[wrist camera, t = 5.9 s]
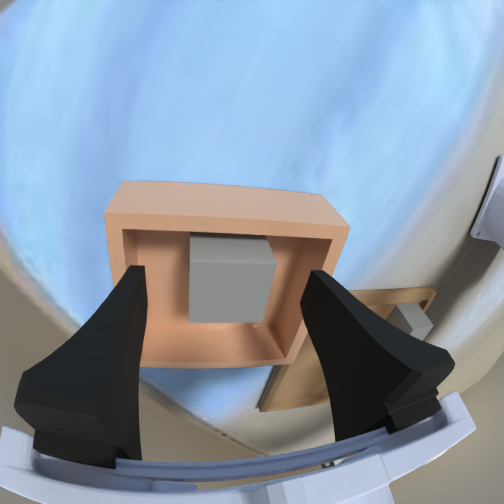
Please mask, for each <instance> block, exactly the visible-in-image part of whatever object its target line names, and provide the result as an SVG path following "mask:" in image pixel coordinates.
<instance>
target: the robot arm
mask: <svg viewBox="0 0 504 504" xmlns="http://www.w3.org/2000/svg"><path fill="white" fill-rule="evenodd" d="M470 235H471V236H472V237H473V238H477V239H483V240H489V241H495V242H496V243H497V244H498V245H499V246H500V247H501V248H502V249H504V155H500V157H499V160H498V163H497V166H496V169H495V172H494V175H493V178H492V181H491V184H490V186H489V189H488V192H487V194H486V197H485V199H484V202H483V204H482V207H481V209H480V212H479V214H478V216H477V219H476V221H475V223H474V225H473V228H472V230H471V232H470ZM300 308H301V312H302V316H303V320H304V323H305V326H306V328H307V331H308V333H309V336H310V338H311V341H312V343H313V346H314V348H315V351H316V353H317V356H318V358H319V361H320V364H321V367H322V370H323V374H324V377H325V381H326V385H327V390H328V394H329V399H330V404H331V410H332V416H333V423H334V432H335V443H331V444H327V445H323V446H319V447H315V448H310V449H305V450H301V451H296V452H290V453H285V454H279V455H273V456H266V457H259V458H250V459H241V460H230V461H216V462H154V461H153V462H152V461H142V454H141V444H140V430H139V403H138V388H139V368H140V361H141V354H142V348H143V342H144V336H145V330H146V324H147V310H148V297H147V286H146V274H145V266H143V265H130V266H129V267H128V268H127V270H126V271H125V273H124V274H123V276H122V277H121V279H120V280H119V282H118V283H117V285H116V286H115V287H114V289H113V290H112V291H111V293H110V294H109V296H108V297H107V298H106V299H105V301H104V302H103V303H102V304H101V306H100V307H99V308H98V309H97V311H96V312H95V313H94V314H93V315H92V316H91V318H90V319H89V320H88V321H87V322H86V323H85V324H84V325H83V326H82V327H81V328H80V329H79V330H78V331H77V332H76V333H75V334H74V335H73V336H72V337H71V338H70V339H69V340H68V341H66V342H65V343H64V344H63V345H62V346H61V347H59V348H58V349H57V350H55V351H54V352H53V353H52V354H50V355H49V356H48V357H46V358H45V359H44V360H42V361H41V362H39V363H37V364H36V365H34V366H33V367H31V368H30V369H28V370H26V371H25V372H23V374H22V377H21V380H20V382H19V386H18V390H17V394H16V398H15V403H14V408H15V410H16V412H17V413H18V414H19V415H20V416H21V417H22V418H23V419H24V420H25V421H26V422H27V423H28V424H29V425H31V426H32V427H33V428H34V429H35V435H34V437H33V436H31V435H29V434H27V433H25V432H22V431H18V430H16V429H13V428H10V427H7V426H3V427H2V432H1V438H0V486H1V487H3V488H5V489H8V490H10V491H12V492H15V493H17V494H19V495H22V496H24V497H27V498H29V499H32V500H34V501H37V502H40V503H43V504H395V503H394V500H393V497H392V494H391V492H390V489H389V486H388V484H390V482H391V481H394V480H395V479H397V478H399V477H401V476H403V475H405V474H407V473H409V472H411V471H413V470H414V469H416V468H418V467H420V466H422V465H423V464H425V463H427V462H428V461H430V460H432V459H433V458H435V457H436V456H438V455H440V454H441V453H443V452H444V451H446V450H447V449H448V448H450V447H452V446H453V445H455V444H456V443H457V442H459V441H460V440H462V439H463V438H464V437H466V436H467V435H469V434H470V433H471V432H473V431H474V430H475V429H476V426H475V424H474V422H473V421H472V418H471V416H470V415H469V413H468V411H467V409H466V407H465V405H464V403H463V402H462V400H461V398H460V396H459V394H458V393H457V391H454V392H452V393H450V394H448V395H446V396H444V397H443V398H441V399H440V400H437V398H436V396H437V395H438V393H439V392H438V390H437V388H436V387H437V386H438V385H439V384H440V383H441V382H442V381H443V380H444V379H445V378H446V377H447V376H448V375H449V374H450V373H451V372H452V370H453V369H454V366H455V362H454V360H453V359H452V357H451V356H450V354H449V353H448V351H447V350H445V349H443V348H440V347H437V346H434V345H432V344H429V343H426V342H424V341H422V340H420V339H418V338H415V337H413V336H412V335H410V334H408V333H406V332H404V331H402V330H400V329H399V328H397V327H395V326H394V325H392V324H390V323H389V322H387V321H386V320H385V319H383V318H382V317H380V316H379V315H377V314H376V313H375V312H373V311H372V310H371V309H369V308H368V307H367V306H365V305H364V304H363V303H362V302H361V301H359V300H358V299H357V298H356V297H355V296H353V295H352V294H351V293H350V292H349V291H348V290H346V289H345V288H344V287H343V286H342V285H341V284H340V283H338V282H337V281H336V280H335V279H334V278H333V277H331V276H330V275H329V274H328V273H326V272H325V271H324V270H311V272H310V275H309V278H308V281H307V284H306V287H305V289H304V292H303V295H302V297H301V300H300ZM349 456H350V457H349ZM346 457H347V458H346ZM342 458H345V459H343V460H342V461H341V462H340V463H339V464H337V465H335V466H333V467H329V468H325V469H321V470H317V471H313V472H309V473H305V474H300V475H296V476H291V477H287V478H282V479H277V480H272V481H267V482H261V483H256V484H250V485H243V486H236V487H228V488H219V489H209V490H197V486H196V485H195V484H194V483H182V482H208V481H209V482H210V481H226V480H237V479H246V478H254V477H261V476H268V475H274V474H280V473H286V472H290V471H296V470H300V469H305V468H309V467H313V466H317V465H321V464H325V463H329V462H332V461H336V460H339V459H342Z"/></svg>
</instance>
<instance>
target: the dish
mask: <svg viewBox="0 0 504 504" xmlns="http://www.w3.org/2000/svg"><path fill="white" fill-rule="evenodd" d="M104 216H105V226H106V235H107V244H108V251H109V259H110V265H111V272H112V278H113V284H114V287H115V286H116V285H117V283H118V282H119V280H120V279H121V277H122V276H123V274H124V273H125V271H126V270H127V268H128V267H129V266H130V265H143V266H145V274H146V286H147V297H148V310H147V324H146V330H145V336H144V342H143V348H142V354H141V361H140V367H152V368H239V367H257V366H271V365H283V364H293V362H294V360H295V358H296V356H297V354H298V352H299V350H300V348H301V346H302V344H303V341H304V339H305V337H306V335H307V333H308V331H307V328H306V326H305V323H304V320H303V316H302V312H301V308H300V300H301V297H302V295H303V292H304V289H305V287H306V284H307V281H308V278H309V275H310V272H311V270H324V271H325V272H326V273H328V274H329V275H330V276H331V277H332V274H333V272H334V269H335V267H336V264H337V262H338V259H339V257H340V254H341V251H342V249H343V246H344V243H345V241H346V238H347V235H348V233H349V230H350V226H349V225H348V223H347V222H346V221H345V220H344V219H343V218H342V217H341V215H340V214H339V213H338V212H337V211H336V210H335V209H334V208H333V207H332V206H331V204H330V203H329V202H328V201H327V200H326V199H325V198H324V197H323V196H322V195H317V194H310V193H301V192H293V191H284V190H274V189H264V188H254V187H242V186H230V185H216V184H200V183H182V182H157V181H123V182H122V184H121V186H120V187H119V189H118V190H117V192H116V194H115V195H114V197H113V199H112V200H111V202H110V204H109V205H108V207H107V209H106V211H105V212H104ZM189 231H191V232H214V233H235V234H254V235H266V238H267V240H268V243H269V245H270V248H271V250H272V252H273V255H274V257H275V260H276V262H277V267H276V270H275V274H274V278H273V282H272V286H271V290H270V294H269V298H268V302H267V305H266V309H265V313H264V317H263V321H262V322H240V323H189V306H188V257H189Z"/></svg>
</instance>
